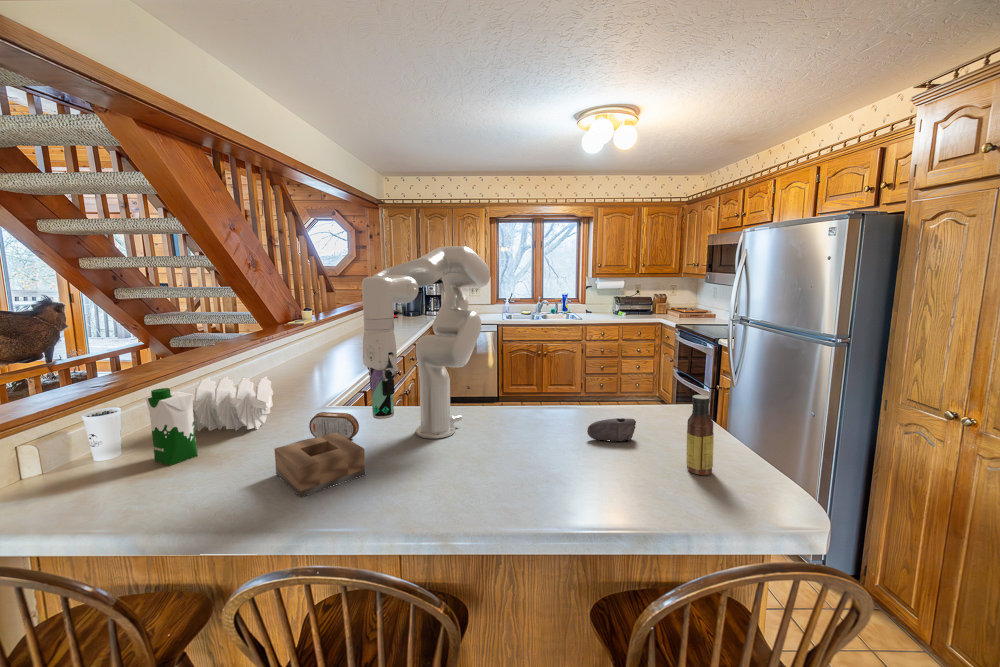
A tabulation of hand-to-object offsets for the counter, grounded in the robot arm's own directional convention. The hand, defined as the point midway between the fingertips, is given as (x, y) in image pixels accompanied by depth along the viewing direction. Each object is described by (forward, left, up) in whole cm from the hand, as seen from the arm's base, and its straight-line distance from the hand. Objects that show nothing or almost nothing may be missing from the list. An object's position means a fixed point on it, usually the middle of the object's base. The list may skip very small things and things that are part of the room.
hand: (382, 391), depth 115 cm
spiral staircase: (+22, -59, -20) cm, 66 cm away
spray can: (0, 0, -7) cm, 7 cm away
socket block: (+15, -5, -20) cm, 25 cm away
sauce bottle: (-55, +62, -20) cm, 85 cm away
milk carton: (+39, -43, -20) cm, 62 cm away
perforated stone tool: (-58, +35, -20) cm, 70 cm away
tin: (+2, -26, -20) cm, 33 cm away
